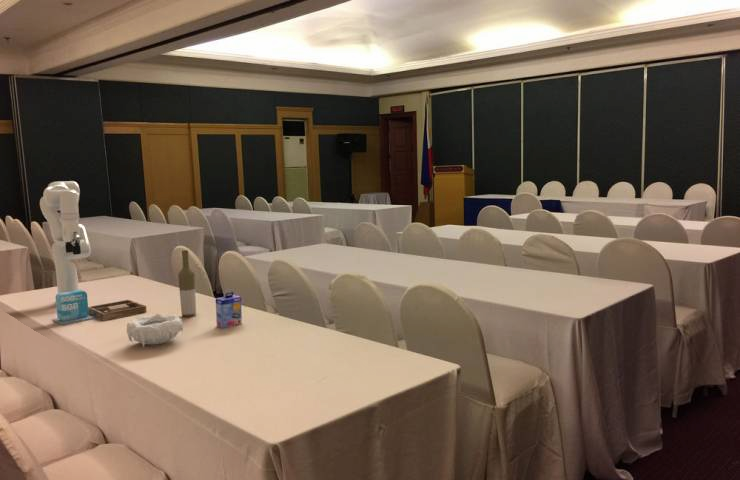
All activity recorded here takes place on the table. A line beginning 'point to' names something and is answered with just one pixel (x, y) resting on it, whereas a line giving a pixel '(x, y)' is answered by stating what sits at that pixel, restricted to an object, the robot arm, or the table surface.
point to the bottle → (187, 288)
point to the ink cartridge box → (228, 310)
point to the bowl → (154, 328)
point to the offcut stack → (116, 308)
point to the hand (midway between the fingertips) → (73, 253)
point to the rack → (99, 311)
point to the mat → (72, 320)
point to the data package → (72, 305)
